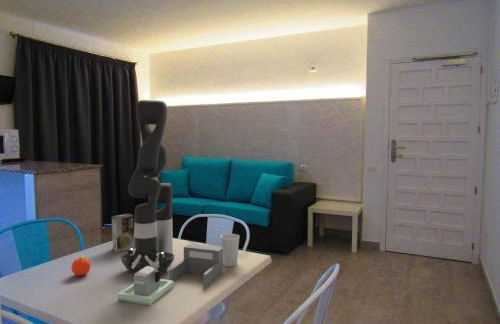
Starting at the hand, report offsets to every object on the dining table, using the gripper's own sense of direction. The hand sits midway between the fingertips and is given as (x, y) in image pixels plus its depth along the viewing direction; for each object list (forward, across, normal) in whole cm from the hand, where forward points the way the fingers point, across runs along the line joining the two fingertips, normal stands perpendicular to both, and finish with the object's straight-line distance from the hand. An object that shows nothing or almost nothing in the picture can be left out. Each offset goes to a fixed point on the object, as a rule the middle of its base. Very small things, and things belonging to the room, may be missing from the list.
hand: (146, 279), depth 131 cm
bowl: (+5, -12, +19) cm, 23 cm away
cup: (+5, +17, +37) cm, 41 cm away
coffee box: (+5, -39, +40) cm, 56 cm away
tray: (+5, 0, 0) cm, 5 cm away
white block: (+4, 0, 0) cm, 4 cm away
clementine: (+5, -34, +7) cm, 35 cm away
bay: (+5, +10, +18) cm, 21 cm away
